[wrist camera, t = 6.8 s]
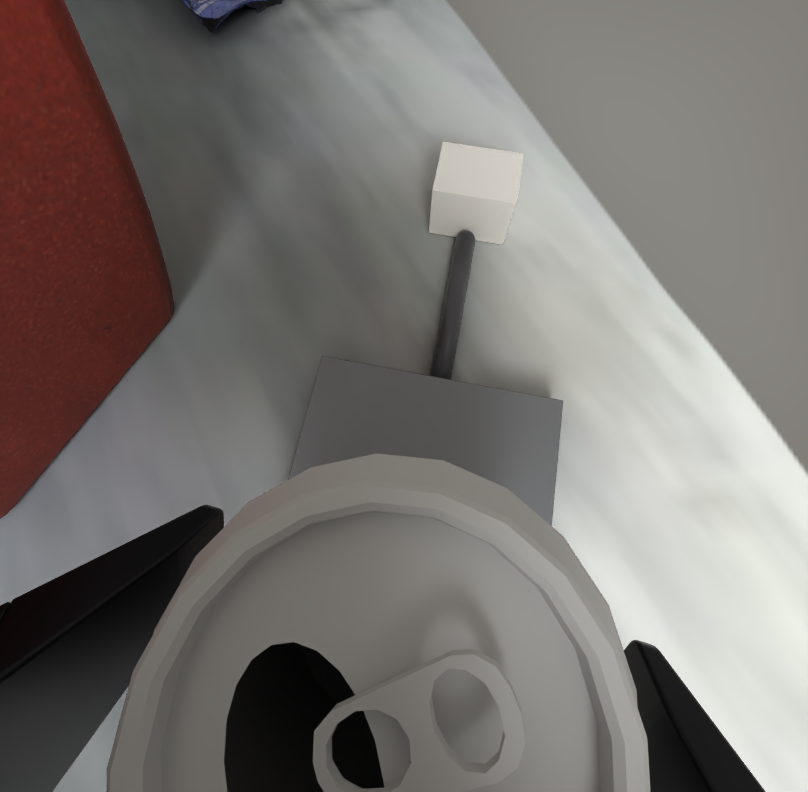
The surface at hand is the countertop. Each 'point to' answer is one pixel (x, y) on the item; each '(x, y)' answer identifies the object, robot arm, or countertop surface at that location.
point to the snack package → (222, 9)
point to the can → (383, 649)
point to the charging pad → (444, 365)
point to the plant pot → (64, 244)
